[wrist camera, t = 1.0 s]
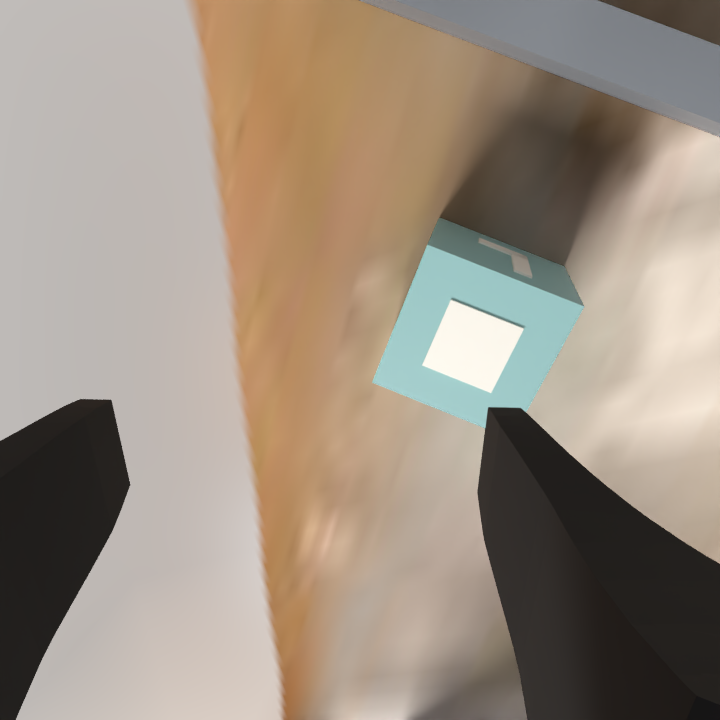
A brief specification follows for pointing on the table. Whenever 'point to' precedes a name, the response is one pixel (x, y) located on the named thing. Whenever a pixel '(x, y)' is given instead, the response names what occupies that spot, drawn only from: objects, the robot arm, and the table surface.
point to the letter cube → (478, 325)
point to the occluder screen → (589, 49)
